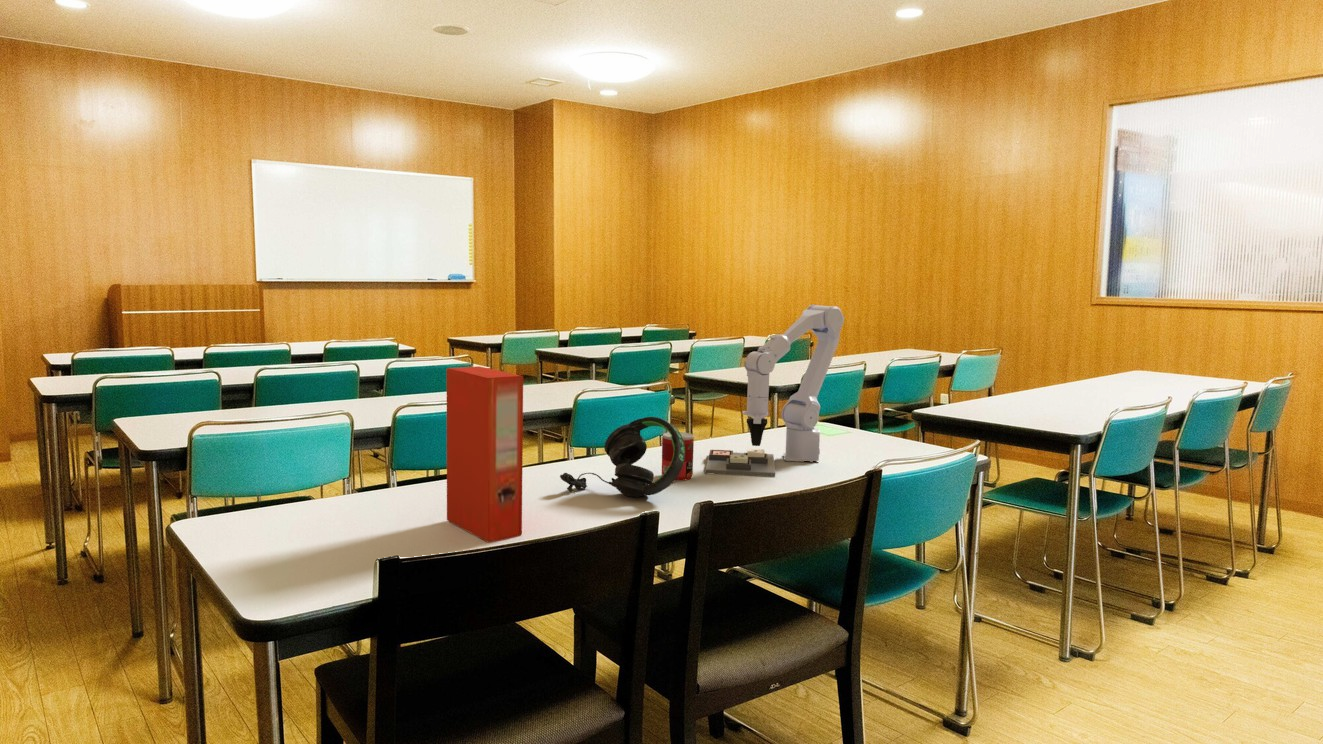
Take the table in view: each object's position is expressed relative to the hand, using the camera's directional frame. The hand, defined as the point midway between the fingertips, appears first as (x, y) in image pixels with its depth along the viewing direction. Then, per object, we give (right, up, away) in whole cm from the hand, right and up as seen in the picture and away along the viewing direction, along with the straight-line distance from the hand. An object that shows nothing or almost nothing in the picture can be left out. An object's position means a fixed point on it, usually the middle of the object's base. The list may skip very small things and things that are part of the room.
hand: (756, 445), depth 233 cm
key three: (-9, -4, +3) cm, 11 cm away
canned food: (-22, -7, -15) cm, 27 cm away
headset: (-34, -9, -34) cm, 49 cm away
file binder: (-62, -12, -60) cm, 87 cm away
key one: (0, -3, 0) cm, 3 cm away
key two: (-5, -4, -7) cm, 9 cm away
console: (-4, -5, -1) cm, 7 cm away
